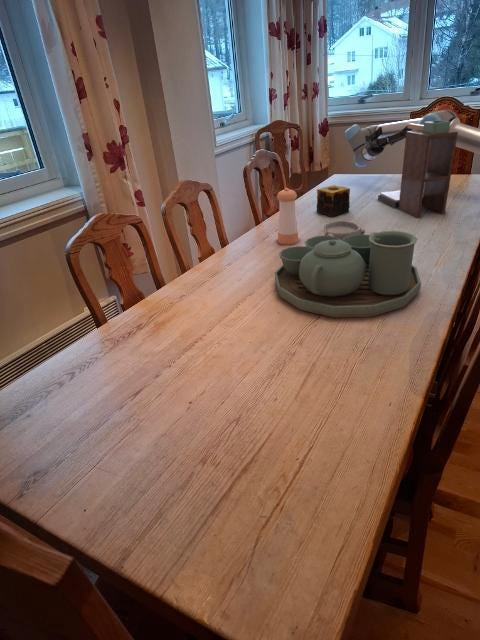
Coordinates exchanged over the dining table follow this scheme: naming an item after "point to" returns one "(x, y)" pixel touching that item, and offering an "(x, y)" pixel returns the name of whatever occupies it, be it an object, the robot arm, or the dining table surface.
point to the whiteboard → (390, 198)
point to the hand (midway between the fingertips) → (396, 128)
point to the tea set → (350, 274)
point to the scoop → (432, 126)
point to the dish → (342, 229)
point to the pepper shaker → (287, 217)
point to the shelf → (426, 171)
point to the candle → (333, 200)
